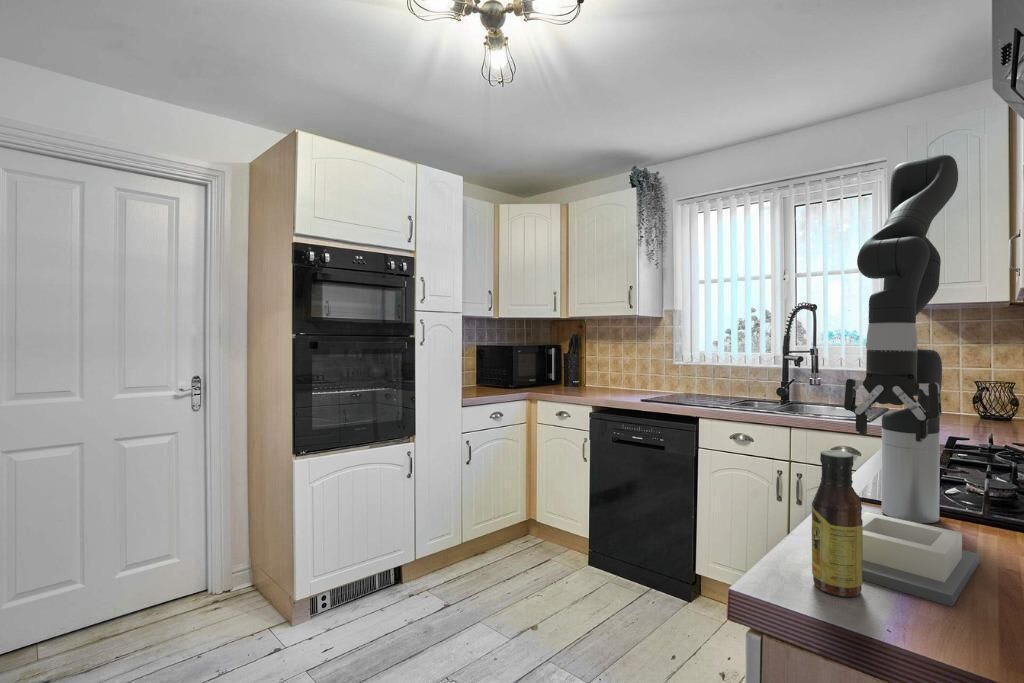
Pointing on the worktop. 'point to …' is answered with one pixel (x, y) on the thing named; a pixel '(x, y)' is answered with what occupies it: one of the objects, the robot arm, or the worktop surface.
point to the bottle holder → (915, 558)
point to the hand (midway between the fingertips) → (890, 437)
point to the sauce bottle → (837, 528)
